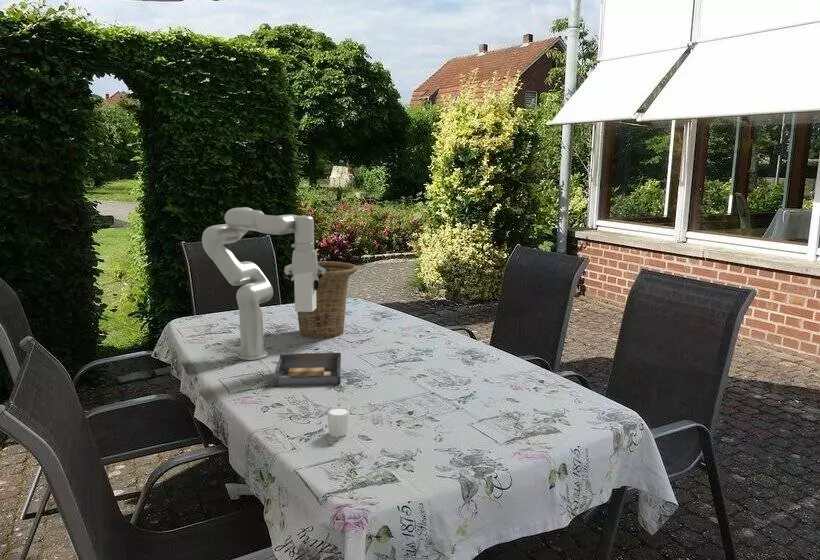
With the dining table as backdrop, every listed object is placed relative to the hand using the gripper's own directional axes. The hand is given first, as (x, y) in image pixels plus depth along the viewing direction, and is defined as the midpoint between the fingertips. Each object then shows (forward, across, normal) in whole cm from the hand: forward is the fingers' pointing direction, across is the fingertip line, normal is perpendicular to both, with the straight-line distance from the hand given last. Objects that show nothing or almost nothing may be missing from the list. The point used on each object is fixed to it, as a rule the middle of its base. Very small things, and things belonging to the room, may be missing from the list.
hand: (305, 289), depth 252 cm
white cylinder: (+31, +14, -70) cm, 78 cm away
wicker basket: (+32, +4, +50) cm, 59 cm away
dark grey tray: (+31, +2, -17) cm, 36 cm away
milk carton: (+9, 0, 0) cm, 9 cm away
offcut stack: (+32, +2, -23) cm, 39 cm away
